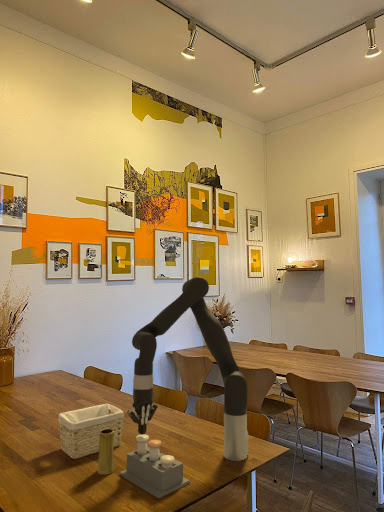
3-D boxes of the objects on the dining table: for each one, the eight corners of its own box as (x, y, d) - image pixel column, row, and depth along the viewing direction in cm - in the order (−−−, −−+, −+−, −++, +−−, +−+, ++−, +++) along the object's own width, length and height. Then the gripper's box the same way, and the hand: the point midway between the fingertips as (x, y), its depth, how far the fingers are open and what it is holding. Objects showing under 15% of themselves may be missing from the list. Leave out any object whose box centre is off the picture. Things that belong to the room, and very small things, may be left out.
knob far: (143, 455, 143) (143, 433, 143) (151, 459, 139) (151, 436, 140) (132, 459, 139) (133, 436, 140) (140, 463, 136) (141, 440, 137)
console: (149, 462, 147) (150, 443, 147) (189, 483, 131) (189, 462, 132) (119, 474, 137) (120, 454, 137) (158, 498, 121) (159, 475, 122)
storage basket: (70, 462, 147) (71, 423, 148) (55, 448, 159) (56, 412, 161) (124, 446, 162) (125, 411, 163) (107, 435, 174) (108, 402, 176)
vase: (115, 467, 143) (116, 428, 144) (112, 475, 137) (113, 434, 138) (99, 467, 142) (100, 428, 144) (95, 475, 136) (96, 434, 138)
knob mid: (155, 461, 138) (155, 438, 138) (163, 465, 134) (163, 442, 135) (144, 465, 134) (144, 442, 135) (153, 470, 131) (153, 446, 132)
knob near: (167, 477, 132) (167, 453, 133) (176, 482, 129) (177, 458, 130) (157, 482, 129) (157, 458, 130) (166, 487, 126) (166, 462, 126)
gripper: (150, 381, 149) (149, 426, 148) (122, 387, 140) (121, 435, 138) (163, 384, 144) (162, 432, 142) (134, 391, 135) (133, 441, 133)
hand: (142, 433), depth 140 cm, fingers closed
